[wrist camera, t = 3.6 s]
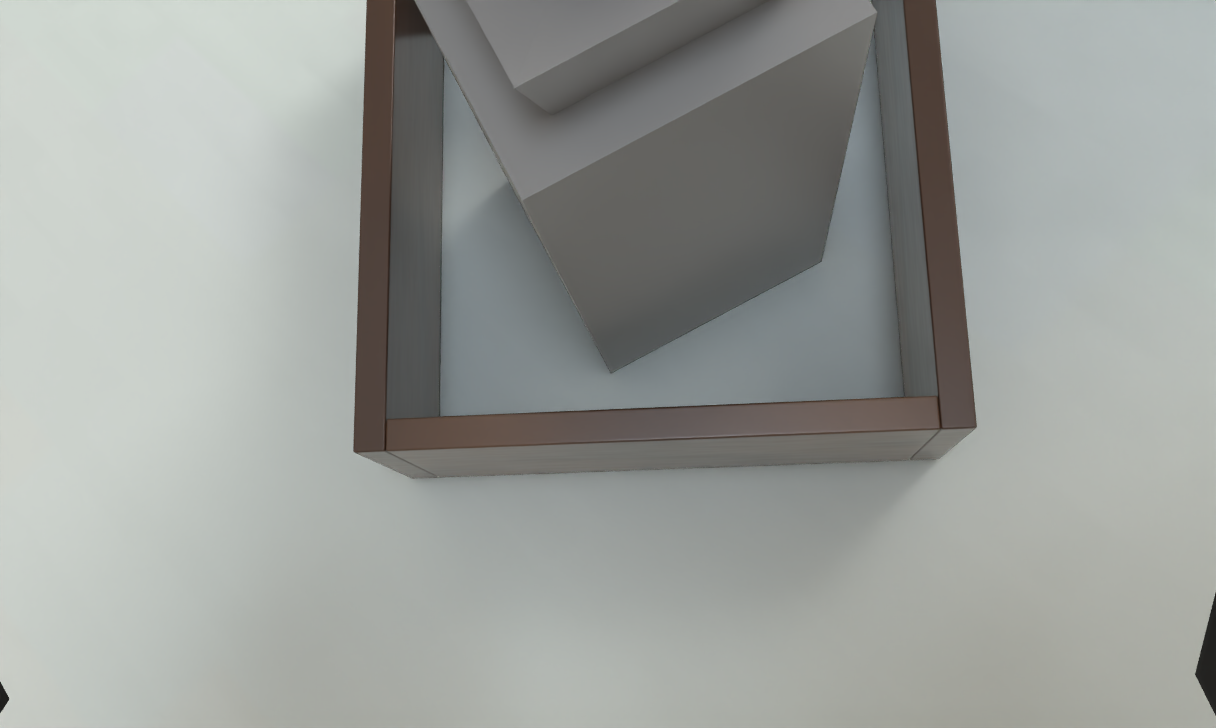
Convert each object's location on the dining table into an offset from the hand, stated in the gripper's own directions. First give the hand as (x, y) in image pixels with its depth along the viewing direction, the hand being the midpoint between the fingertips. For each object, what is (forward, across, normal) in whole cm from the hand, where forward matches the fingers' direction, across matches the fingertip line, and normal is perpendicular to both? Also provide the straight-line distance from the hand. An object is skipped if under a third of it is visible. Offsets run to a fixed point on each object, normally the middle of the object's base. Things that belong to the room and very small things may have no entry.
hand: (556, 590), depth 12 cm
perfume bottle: (+22, 0, -6) cm, 23 cm away
